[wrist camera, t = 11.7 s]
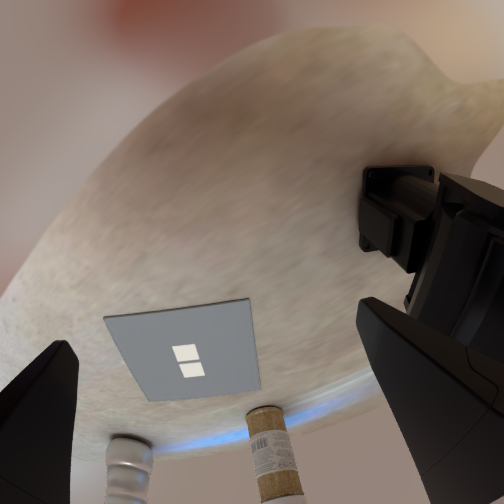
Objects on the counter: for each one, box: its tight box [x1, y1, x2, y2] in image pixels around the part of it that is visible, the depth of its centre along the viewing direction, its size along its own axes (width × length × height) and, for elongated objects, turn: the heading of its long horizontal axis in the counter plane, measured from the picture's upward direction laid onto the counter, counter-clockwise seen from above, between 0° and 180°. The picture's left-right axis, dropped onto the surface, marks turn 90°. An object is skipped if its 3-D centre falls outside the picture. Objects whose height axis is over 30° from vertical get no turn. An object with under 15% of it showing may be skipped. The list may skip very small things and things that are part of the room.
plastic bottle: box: [104, 438, 154, 504], centre depth 23 cm, size 6×7×20 cm
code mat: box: [103, 298, 261, 402], centre depth 25 cm, size 12×12×1 cm
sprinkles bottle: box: [246, 407, 308, 504], centre depth 25 cm, size 5×5×13 cm
